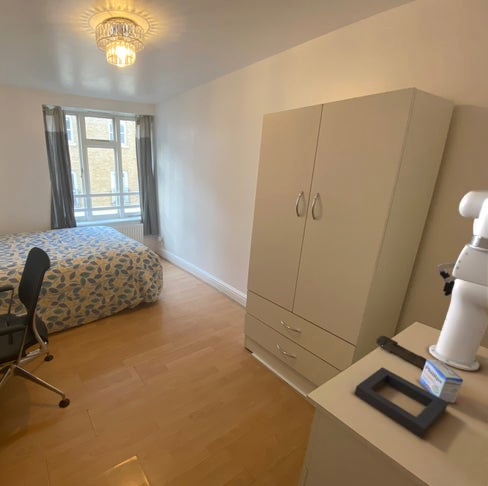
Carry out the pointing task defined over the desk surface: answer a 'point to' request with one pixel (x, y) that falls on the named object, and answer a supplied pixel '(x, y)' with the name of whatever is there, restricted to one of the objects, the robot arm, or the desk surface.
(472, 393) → the desk surface
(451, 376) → the medicine box
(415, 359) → the hand tool
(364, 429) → the desk surface
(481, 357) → the desk surface
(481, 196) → the robot arm
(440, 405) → the holder
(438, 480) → the desk surface
